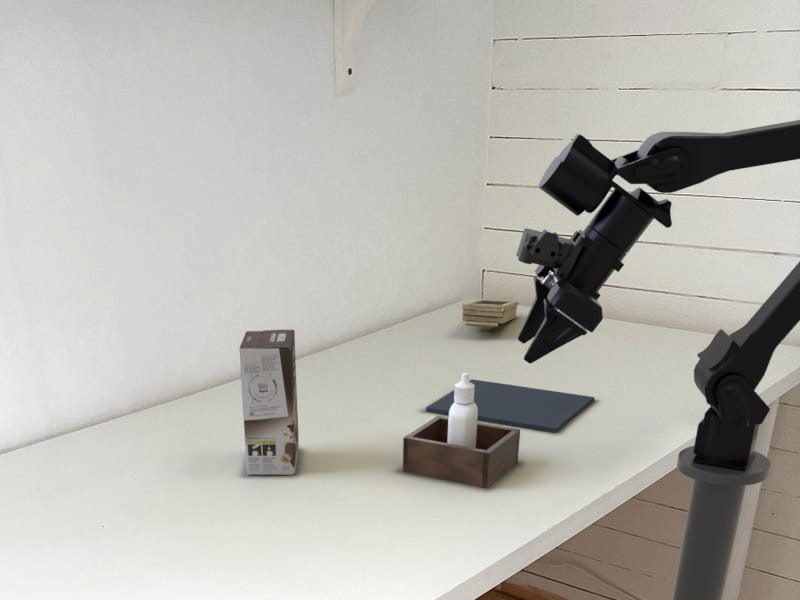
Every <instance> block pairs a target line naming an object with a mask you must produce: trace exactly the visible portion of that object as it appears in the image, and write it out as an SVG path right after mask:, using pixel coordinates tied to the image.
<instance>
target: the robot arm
mask: <svg viewBox="0 0 800 600" xmlns="http://www.w3.org/2000/svg"><path fill="white" fill-rule="evenodd" d="M796 160H800V119H797V120H791V121H785V122H780V123H774V124H768V125H763V126H757V127H751V128H744V129H738V130H733V131H727V132H698V131H658V132H657V133H654V134H651V135H649V136H648V137H647V138H646V139H645V140H644V141H643V143H641V145H640V146H639V148H638V149H636V150H634V151H630V152H628V153H625V154H623V155H618V157H615V158H612V159H610V158H609V157H607V156H606V155H605V154H604V153H602V152H601V151H600V150H599V149H597V148H596V147H595V146H594V145H593V144H592V143H591V142H590V141H589V139H587V138H586V137H585V136H583V135H582V134H581V133H576V134H575V135H574V137H573V138H572V140H571V141H570V142H569V143H568V144H567V145H566V146H565V147H564V148H563V149H562V150H561V152H560V153H559V154H558V155H557V156H555V157H554V158H553V160H551V163H550V164H549V165H548V167H547V168H546V170H545V172H544V173H543V175H542V177H541V179H540V180H539V183H538V189H540V190H541V191H543V192H544V193H545V194H547V195H548V196H550V197H551V198H552V199H553V200H555V201H556V202H557V203H559V204H560V205H561V206H562V207H564V208H565V209H567V210H568V211H569V212H571V213H572V214H574V215H575V216H576V217H579V216H580V215H582V213H584V212H586V213H587V214H588V213H589V214H592V213H594V212H595V211H596V210H597V209H598V208H599V206H600V205H601V204H602V205H601V206H600V208H599V209H598V211H597V212H596V213H595V214H594V216H593V217H592V218H591V220H590V221H589V223H588V224H587V225H586V227H585V228H584V229H583V230H582V229H579V230H576V231H574V233H572V235H571V237H570V238H567V237H563V236H559V235H558V233H557V232H556V231H554V232H551V231H549V230H547V229H542V231H541V230H537V229H531V228H527V227H525V228H524V229H523V232H522V235H521V239H520V242H519V245H518V247H517V251H516V257H517V260H518V261H519V262H521V263H523V264H527V265H532V264H535V265H538V266H537V267H536V268H535V270H534V273H535V276H533V283H534V290H535V297H534V299H533V302H532V304H531V307H530V309H529V311H528V314H527V316H526V318H525V321H524V322H523V325H522V327H521V329H520V331H519V334H518V336H517V341H519V342H520V343H521V344H527V343H528V342H529V341H530V340H532V341H531V342H530V344H529V346H528V348H527V349H526V352H525V354H524V357H523V360H524V361H525V362H527V363H528V364H533V363H535V362H537V361H538V360H541V358H544V357H545V356H547V355H548V354H550V353H552V352H554V351H555V350H558V349H559V348H561V347H562V346H565V345H566V344H568V343H570V342H572V341H574V340H576V339H578V338H580V337H582V336H586V335H587V334H588V332H590V333H593V332H594V331H595V330H596V328H598V327H599V324H601V322H602V321H603V319H604V318H603V317H604V316H603V315H604V314H603V307H602V306H601V304H600V302H599V301H598V300H599V298H600V297H601V294H600V292H599V291H600V290H601V289H602V287H603V286H604V285H605V283H606V282H607V281H608V279H609V278H610V277H611V276H612V274H613V273H614V272H615V271H616V272H617V273H619V272H620V271H621V270H622V268H623V267H624V266H625V264H624V263H623V260H624V258H625V257H626V256H627V254H628V253H630V251H631V249H632V248H633V247H634V245H635V244H636V243H637V242H638V240H639V239H640V238H641V236H642V235H643V233H644V232H645V231H646V230H647V228H648V227H649V226H650V224H651V223H652V222H653V221H654V220H656V221H657V222H658V223H660V225H662V226H663V227H664V228H667V229H669V228H671V227H672V225H673V221H672V214H671V208H672V204H673V203H672V201H670V200H669V199H667V198H665V199H662V200H657V199H656V198H655V197H653V196H652V195H651V194H649V193H648V192H646V191H645V189H643V188H642V187H637V188H635V189H634V190H632V191H631V192H628V191H627V190H626V189H624V187H622V186H621V185H619V184H618V183H617V182H616V181H614V179H615V177H616V176H618V177H620V178H621V179H622V180H624V181H625V182H627V183H628V184H630V185H646V186H648V187H649V188H650V189H652V190H654V191H655V192H657V193H661V194H671V193H672V194H673V193H676V192H678V191H681V190H685V189H687V188H690V187H692V186H696V185H699V184H701V183H703V182H704V183H705V182H706V181H709V180H710V179H712V178H714V177H717V176H719V175H721V174H724V173H727V172H731V171H737V170H742V169H749V168H755V167H761V166H766V165H773V164H778V163H779V164H780V163H784V162H790V161H796ZM612 188H613V189H612ZM611 189H612V191H611ZM610 191H611V192H610ZM609 192H610V194H609ZM608 194H609V195H608ZM607 196H608V197H607ZM606 197H607V198H606ZM605 198H606V199H605ZM536 276H537V277H536ZM799 322H800V261H798V262H797V264H796V265H795V266H794V267H793V268H792V270H791V271H790V272H789V273H788V274H787V276H786V277H785V278H784V279H783V280H782V281H781V282H780V283H779V285H778V286H777V287H776V288H775V289H774V291H773V292H772V293H771V294H770V296H768V298H767V299H766V300H765V301H764V302H763V304H762V305H761V306H760V307H759V308H758V310H757V311H756V312H755V313H754V314H753V316H752V317H750V319H749V320H748V321H747V322H746V324H744V325H743V326H742V327H740V328H739V329H737V330H736V331H734V332H732V333H731V334H728V333H727V332H726V331H725V330H723V329H722V328H720V329H719V330H718V331H717V332H716V333H715V335H714V336H713V338H712V340H711V342H710V343H709V344H708V345H707V346H706V348H704V349H703V350H702V351H700V352H698V353H697V357H698V361H697V363H696V364H695V366H694V368H693V381H694V385H695V386H696V388H698V390H699V392H700V393H701V394H702V395H703V397H704V398H705V402H706V404H707V405H709V408H708V409H707V410H706V411H705V412H704V416H703V418H702V419H701V420H700V421H699V422H698V424H697V430H696V433H695V440H694V445H693V446H694V451H693V453H694V454H697V455H696V456H695V457H694V459H693V463H697V464H703V465H709V466H715V467H721V468H727V469H732V470H738V471H746V469H747V468H748V466H749V465H750V463H751V462H752V460H753V459H754V457H755V455H756V453H755V452H754V451H755V447H756V442H757V438H758V434H759V428H760V425H762V424H763V422H764V421H765V419H766V417H767V416H768V414H769V412H770V411H771V408H770V406H769V405H768V404H767V403H766V402H765V401H764V400H763V399H762V398H761V397H760V395H759V394H758V393H757V392H756V391H755V390H756V389H757V387H758V386H759V384H760V383H761V382H762V380H763V378H764V377H765V376H766V375H765V374H766V372H767V370H768V368H769V365H770V362H771V360H772V357H773V355H774V352H775V351H776V349H777V348H778V346H779V345H780V344H781V343H782V342H783V340H784V339H785V338H786V337H787V336H788V335H789V334H790V333H791V331H792V330H793V329H794V328H795V327H796V326H797V325H798V324H799Z"/></svg>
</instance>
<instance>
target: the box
mask: <svg viewBox="0 0 800 600" xmlns="http://www.w3.org/2000/svg"><path fill="white" fill-rule="evenodd" d="M518 306H519V301H516V300H515V301H514V300H499V299H476V300H471V301H468V302H464V303H462V307H461V308H462V322H465V326H467V327H480V328H482V330H483V331H492V329H493V328H499V324H505V323H507V322H509V321H511V320H514V319H516V316H517V309H518V308H517V307H518Z"/></svg>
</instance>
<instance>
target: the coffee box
mask: <svg viewBox="0 0 800 600" xmlns="http://www.w3.org/2000/svg"><path fill="white" fill-rule="evenodd" d="M295 333H296V331H295V329H264V330H246V331H245V333H244V336H243V339H242V341H241V343H240V345H239V348H238V349H239V357H240V358H239V360H240V362H239V363H240V381H241V395H242V412H243V413H242V414H243V415H242V417H243V431H244V446H245V464H246V475H249V476H252V475H255V476H256V475H258V476H259V475H263V476H265V475H271V476H273V475H274V476H276V475H278V476H281V475H284V476H292V475H295V474H296V473H295V472H296V468H297V463H298V457H299V452H300V442H299V439H300V438H299V414H298V413H299V411H298V391H297V388H298V387H297V365H296V364H297V363H296V339H295V338H296V337H295V335H296V334H295Z"/></svg>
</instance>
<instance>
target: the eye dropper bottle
mask: <svg viewBox="0 0 800 600" xmlns="http://www.w3.org/2000/svg"><path fill="white" fill-rule="evenodd" d="M469 381H470V377H469V373H468V372H463V373H462V374H461V378H460V381H459V382H457V383H455V384H454V389H453V391H454V401H455V402H454V403H453V404H452V406H451V408H450V410H449V415H448V438H447V443H449V444H454V445H460V446H465V447H471V448H476V435H477V422H478V420H477V418H478V408H477V405H476V404H475V403H474V402H473V401H474V389H475V385H474V384H472V383H470V382H469Z"/></svg>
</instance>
